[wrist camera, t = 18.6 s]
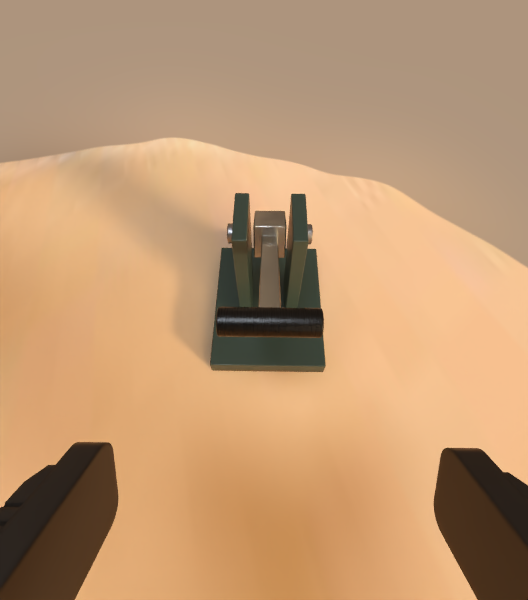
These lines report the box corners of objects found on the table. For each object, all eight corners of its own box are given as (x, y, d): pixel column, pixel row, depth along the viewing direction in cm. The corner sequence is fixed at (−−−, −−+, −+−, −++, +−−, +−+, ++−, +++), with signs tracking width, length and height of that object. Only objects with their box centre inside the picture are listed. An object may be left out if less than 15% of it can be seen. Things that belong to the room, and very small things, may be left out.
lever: (320, 351, 17) (326, 312, 15) (218, 350, 17) (214, 311, 15) (301, 240, 26) (304, 211, 25) (237, 240, 26) (235, 210, 25)
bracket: (323, 372, 31) (355, 299, 20) (212, 370, 31) (183, 297, 20) (314, 257, 37) (335, 155, 26) (223, 256, 37) (206, 153, 26)
